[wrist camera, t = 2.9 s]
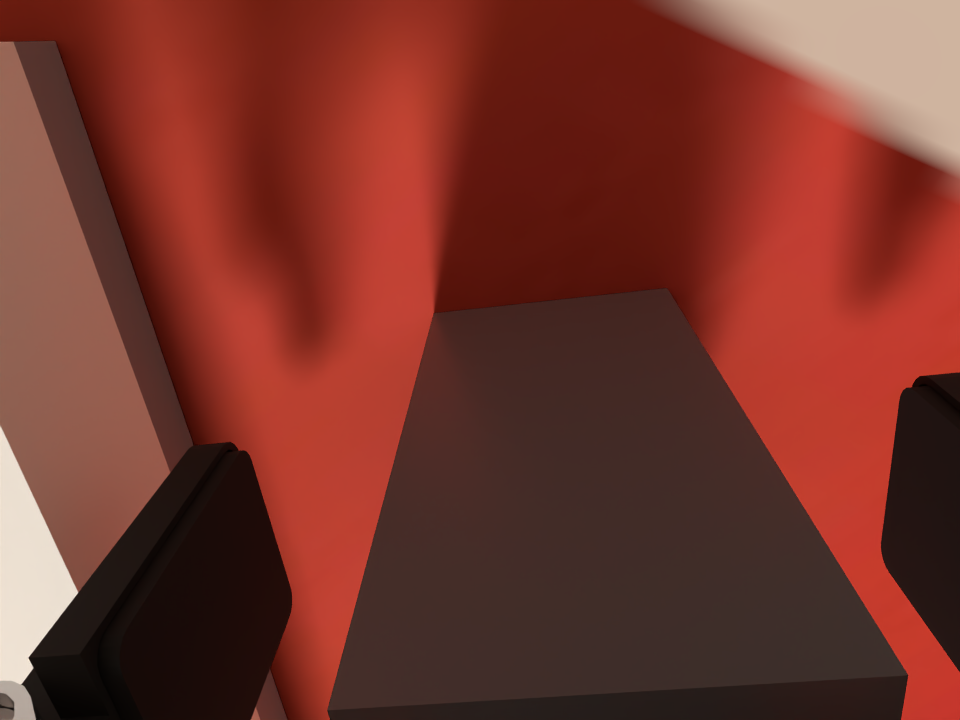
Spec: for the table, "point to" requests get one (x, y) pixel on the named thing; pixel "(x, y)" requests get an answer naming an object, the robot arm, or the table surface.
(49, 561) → the power strip
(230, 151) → the table surface
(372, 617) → the plug
